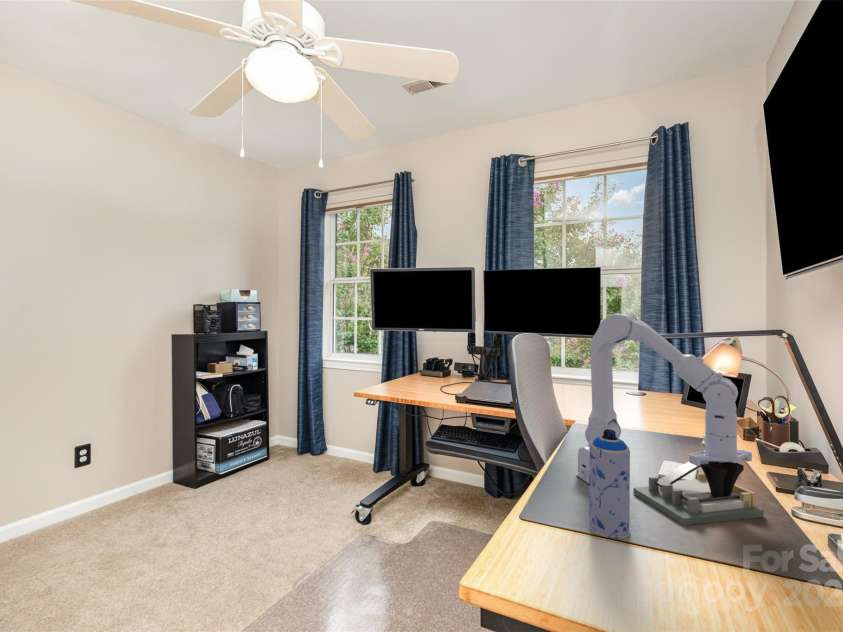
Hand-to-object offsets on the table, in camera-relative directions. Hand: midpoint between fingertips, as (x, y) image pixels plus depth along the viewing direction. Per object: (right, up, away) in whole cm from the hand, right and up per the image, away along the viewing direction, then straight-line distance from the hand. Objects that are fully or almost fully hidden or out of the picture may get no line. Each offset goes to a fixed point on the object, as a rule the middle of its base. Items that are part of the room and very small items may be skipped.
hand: (720, 494), depth 91 cm
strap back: (-4, +3, +6) cm, 8 cm away
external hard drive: (+4, -4, +21) cm, 22 cm away
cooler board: (-4, -4, +3) cm, 6 cm away
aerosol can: (-28, -4, -7) cm, 29 cm away
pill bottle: (+18, -4, +28) cm, 33 cm away
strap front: (-2, 0, 0) cm, 2 cm away
